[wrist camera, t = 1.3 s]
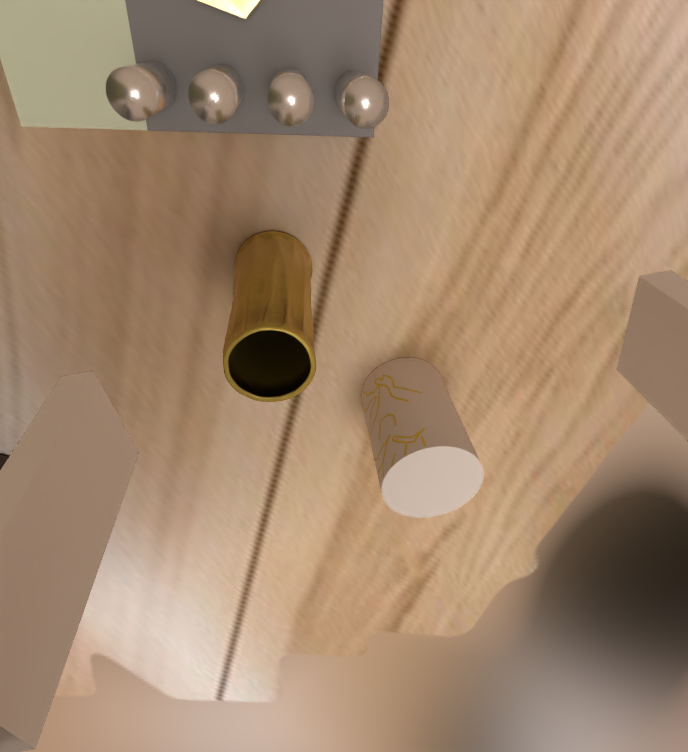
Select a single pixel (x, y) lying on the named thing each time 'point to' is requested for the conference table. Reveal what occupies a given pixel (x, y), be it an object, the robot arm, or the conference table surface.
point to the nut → (235, 6)
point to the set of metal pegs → (241, 94)
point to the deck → (183, 58)
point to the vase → (271, 319)
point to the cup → (418, 440)
